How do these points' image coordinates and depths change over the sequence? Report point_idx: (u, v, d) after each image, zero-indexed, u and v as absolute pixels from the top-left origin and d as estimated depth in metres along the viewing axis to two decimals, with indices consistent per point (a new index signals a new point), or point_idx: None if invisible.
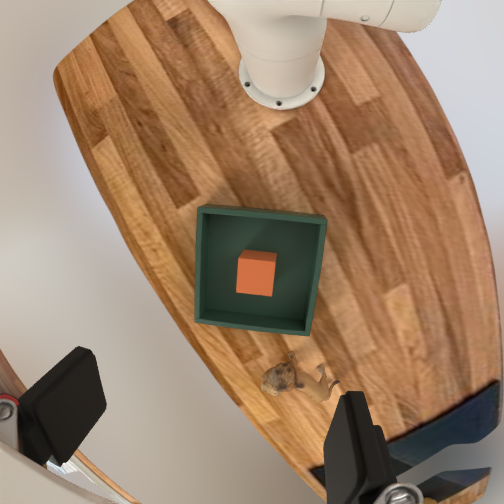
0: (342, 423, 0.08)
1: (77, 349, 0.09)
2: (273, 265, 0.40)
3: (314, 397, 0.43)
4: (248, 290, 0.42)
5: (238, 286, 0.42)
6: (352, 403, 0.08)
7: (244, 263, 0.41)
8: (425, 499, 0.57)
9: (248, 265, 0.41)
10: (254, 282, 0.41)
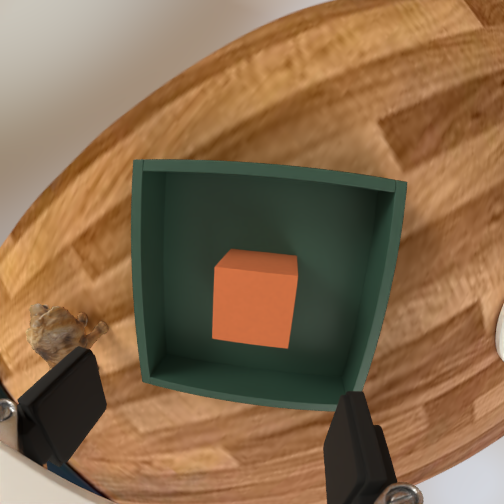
0: (342, 423, 0.08)
1: (77, 349, 0.09)
2: (280, 345, 0.19)
3: None
4: (221, 294, 0.18)
5: (229, 272, 0.18)
6: (352, 403, 0.08)
7: (285, 288, 0.18)
8: None
9: (280, 297, 0.18)
10: (242, 307, 0.18)
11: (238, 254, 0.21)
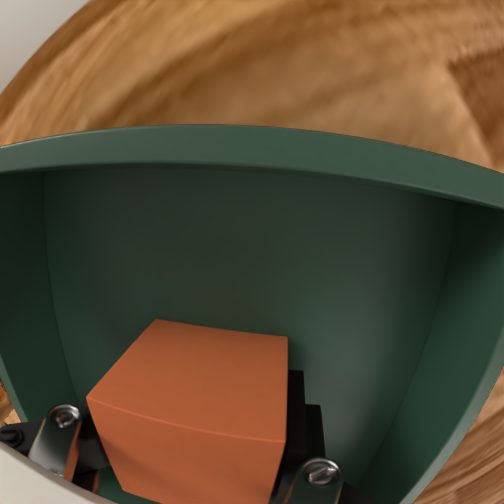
0: None
1: None
2: None
3: None
4: (114, 444, 0.06)
5: (117, 415, 0.06)
6: (290, 380, 0.09)
7: (252, 459, 0.06)
8: None
9: (242, 470, 0.06)
10: (161, 471, 0.06)
11: (161, 341, 0.09)
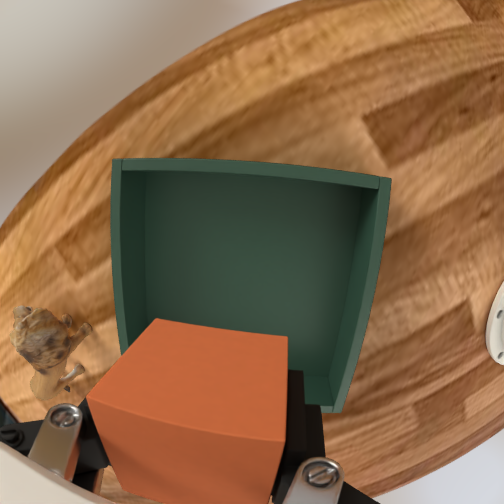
0: None
1: None
2: None
3: (33, 386, 0.21)
4: (114, 443, 0.06)
5: (117, 414, 0.06)
6: (289, 380, 0.09)
7: (252, 459, 0.06)
8: None
9: (241, 469, 0.06)
10: (161, 470, 0.06)
11: (161, 340, 0.09)
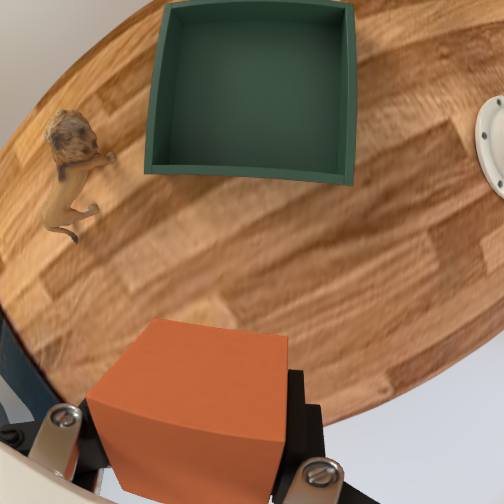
0: None
1: None
2: None
3: (45, 204, 0.24)
4: (113, 443, 0.06)
5: (116, 414, 0.06)
6: (289, 380, 0.09)
7: (252, 459, 0.06)
8: None
9: (241, 469, 0.06)
10: (161, 471, 0.06)
11: (161, 340, 0.09)
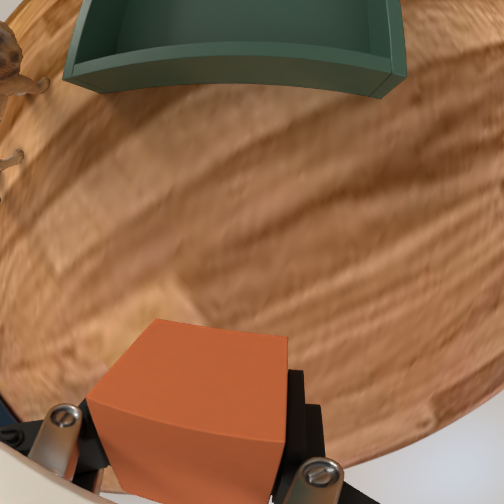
0: None
1: None
2: None
3: None
4: (113, 443, 0.06)
5: (116, 415, 0.06)
6: (289, 380, 0.09)
7: (251, 460, 0.06)
8: None
9: (241, 470, 0.06)
10: (160, 471, 0.06)
11: (161, 341, 0.09)
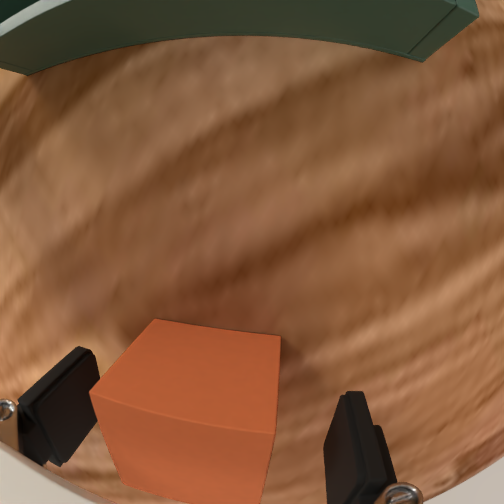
0: (342, 423, 0.08)
1: (77, 349, 0.09)
2: None
3: None
4: (115, 437, 0.07)
5: (118, 408, 0.06)
6: (352, 403, 0.08)
7: (245, 451, 0.06)
8: None
9: (235, 461, 0.06)
10: (159, 463, 0.07)
11: (160, 339, 0.10)
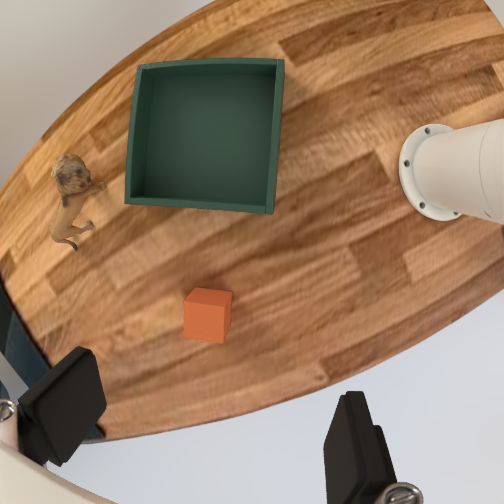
0: (342, 423, 0.08)
1: (77, 349, 0.09)
2: (219, 341, 0.35)
3: (53, 222, 0.33)
4: (187, 314, 0.35)
5: (190, 304, 0.35)
6: (352, 403, 0.08)
7: (218, 312, 0.34)
8: None
9: (216, 316, 0.35)
10: (198, 321, 0.35)
11: (198, 291, 0.38)
